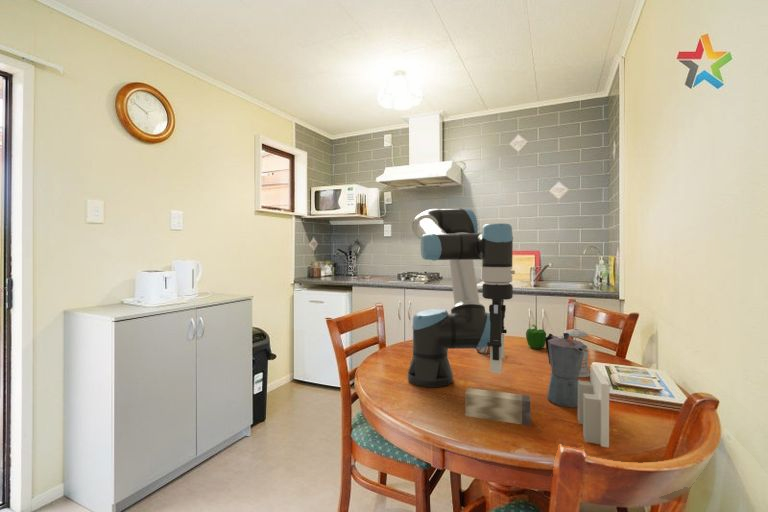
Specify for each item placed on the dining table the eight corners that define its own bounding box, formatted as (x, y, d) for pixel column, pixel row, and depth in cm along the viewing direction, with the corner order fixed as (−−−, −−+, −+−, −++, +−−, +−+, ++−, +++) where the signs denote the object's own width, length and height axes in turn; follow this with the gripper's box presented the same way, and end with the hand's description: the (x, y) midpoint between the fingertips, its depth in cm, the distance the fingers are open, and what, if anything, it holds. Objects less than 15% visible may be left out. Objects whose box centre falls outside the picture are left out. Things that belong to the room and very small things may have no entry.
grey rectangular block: (465, 415, 97) (465, 393, 96) (467, 409, 100) (467, 387, 100) (530, 425, 91) (530, 401, 91) (530, 418, 95) (530, 395, 95)
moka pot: (569, 414, 97) (569, 339, 96) (530, 392, 112) (530, 327, 111) (598, 409, 99) (598, 336, 99) (556, 389, 114) (556, 325, 114)
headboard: (586, 443, 82) (586, 382, 82) (577, 416, 95) (577, 363, 95) (609, 447, 81) (609, 384, 80) (596, 419, 94) (596, 365, 93)
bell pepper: (548, 350, 157) (548, 327, 156) (527, 349, 158) (527, 326, 158) (544, 345, 165) (544, 323, 164) (524, 344, 167) (524, 323, 166)
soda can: (472, 350, 158) (472, 322, 158) (486, 348, 160) (486, 321, 160) (481, 354, 151) (481, 326, 151) (496, 353, 154) (496, 324, 153)
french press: (594, 378, 123) (594, 304, 123) (556, 374, 127) (556, 303, 126) (588, 369, 132) (588, 300, 132) (553, 366, 136) (553, 299, 136)
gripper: (511, 288, 82) (511, 382, 82) (513, 279, 105) (513, 353, 106) (477, 287, 85) (477, 378, 85) (486, 279, 108) (486, 350, 108)
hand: (497, 364), depth 95 cm, fingers open, 13 cm apart
